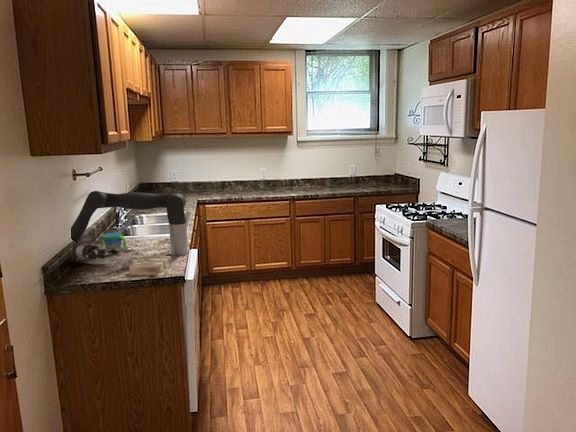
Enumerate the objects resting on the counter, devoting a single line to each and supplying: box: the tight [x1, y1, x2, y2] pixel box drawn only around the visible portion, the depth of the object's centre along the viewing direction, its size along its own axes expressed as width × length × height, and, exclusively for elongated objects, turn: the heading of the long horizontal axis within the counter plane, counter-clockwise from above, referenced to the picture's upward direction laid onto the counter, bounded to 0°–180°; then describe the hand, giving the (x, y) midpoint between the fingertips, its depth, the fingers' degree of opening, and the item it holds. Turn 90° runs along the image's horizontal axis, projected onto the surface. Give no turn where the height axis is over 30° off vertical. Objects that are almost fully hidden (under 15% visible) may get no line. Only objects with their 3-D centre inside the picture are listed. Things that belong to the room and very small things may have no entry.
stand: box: [129, 255, 172, 276], centre depth 226 cm, size 18×14×4 cm
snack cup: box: [100, 232, 127, 253], centre depth 260 cm, size 16×10×10 cm
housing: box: [119, 246, 134, 270], centre depth 229 cm, size 6×6×10 cm
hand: (110, 254), depth 233 cm, fingers open, 8 cm apart
